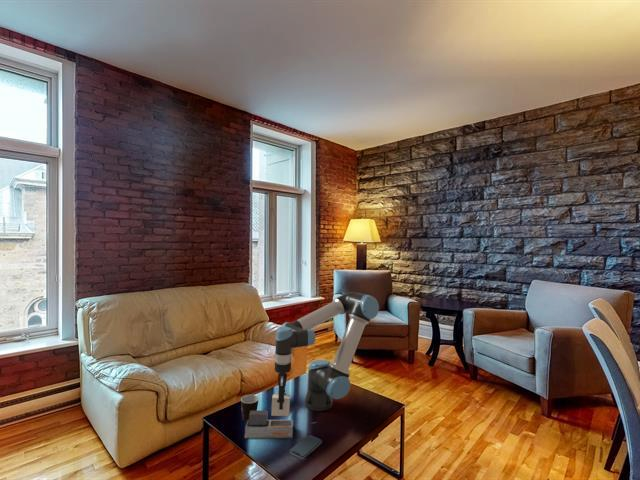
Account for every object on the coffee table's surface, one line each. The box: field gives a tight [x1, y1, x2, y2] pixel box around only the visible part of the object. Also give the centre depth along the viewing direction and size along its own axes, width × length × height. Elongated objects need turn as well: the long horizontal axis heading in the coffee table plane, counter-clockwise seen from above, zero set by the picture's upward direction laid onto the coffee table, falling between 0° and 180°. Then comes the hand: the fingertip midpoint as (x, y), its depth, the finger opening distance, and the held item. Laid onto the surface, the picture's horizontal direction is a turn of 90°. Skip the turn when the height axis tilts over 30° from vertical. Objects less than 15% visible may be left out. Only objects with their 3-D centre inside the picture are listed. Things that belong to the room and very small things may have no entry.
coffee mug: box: [240, 394, 260, 423], centre depth 160 cm, size 12×9×10 cm
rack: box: [244, 410, 294, 439], centre depth 148 cm, size 21×9×9 cm, turn 93°
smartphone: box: [289, 434, 323, 460], centre depth 138 cm, size 8×2×15 cm
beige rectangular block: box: [270, 394, 291, 417], centre depth 149 cm, size 8×4×8 cm, turn 93°
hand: (281, 412), depth 149 cm, fingers closed on beige rectangular block, 3 cm apart
